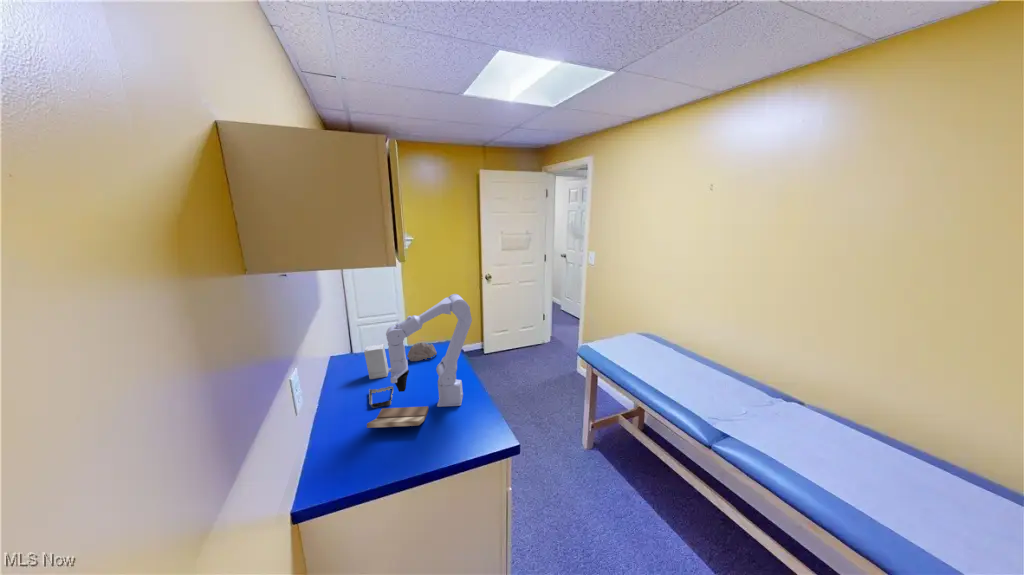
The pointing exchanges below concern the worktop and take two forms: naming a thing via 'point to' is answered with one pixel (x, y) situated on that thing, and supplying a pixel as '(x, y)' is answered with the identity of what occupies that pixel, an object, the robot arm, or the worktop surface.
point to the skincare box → (376, 361)
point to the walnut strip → (403, 412)
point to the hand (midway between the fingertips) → (402, 390)
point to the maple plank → (396, 422)
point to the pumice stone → (421, 352)
